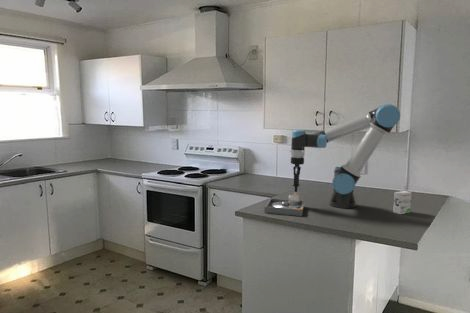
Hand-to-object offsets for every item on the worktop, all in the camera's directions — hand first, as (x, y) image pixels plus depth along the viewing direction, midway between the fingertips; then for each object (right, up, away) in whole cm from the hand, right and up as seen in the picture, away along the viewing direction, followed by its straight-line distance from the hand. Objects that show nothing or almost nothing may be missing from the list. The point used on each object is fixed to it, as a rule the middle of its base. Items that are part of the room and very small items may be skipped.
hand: (295, 197), depth 216 cm
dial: (-7, -5, -7) cm, 11 cm away
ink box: (+58, -8, -7) cm, 59 cm away
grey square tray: (-7, -6, -7) cm, 12 cm away
